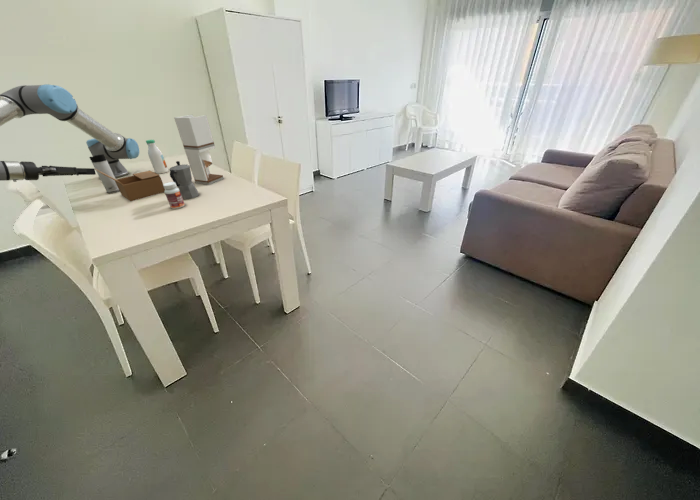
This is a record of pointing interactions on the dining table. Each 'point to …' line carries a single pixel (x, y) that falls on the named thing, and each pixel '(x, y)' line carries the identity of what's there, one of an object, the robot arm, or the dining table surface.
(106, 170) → the travel mug
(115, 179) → the flap
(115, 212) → the dining table surface
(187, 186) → the coffeepot
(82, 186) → the dining table surface
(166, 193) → the pill bottle
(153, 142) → the milk bottle
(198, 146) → the drip coffee maker
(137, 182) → the carton
